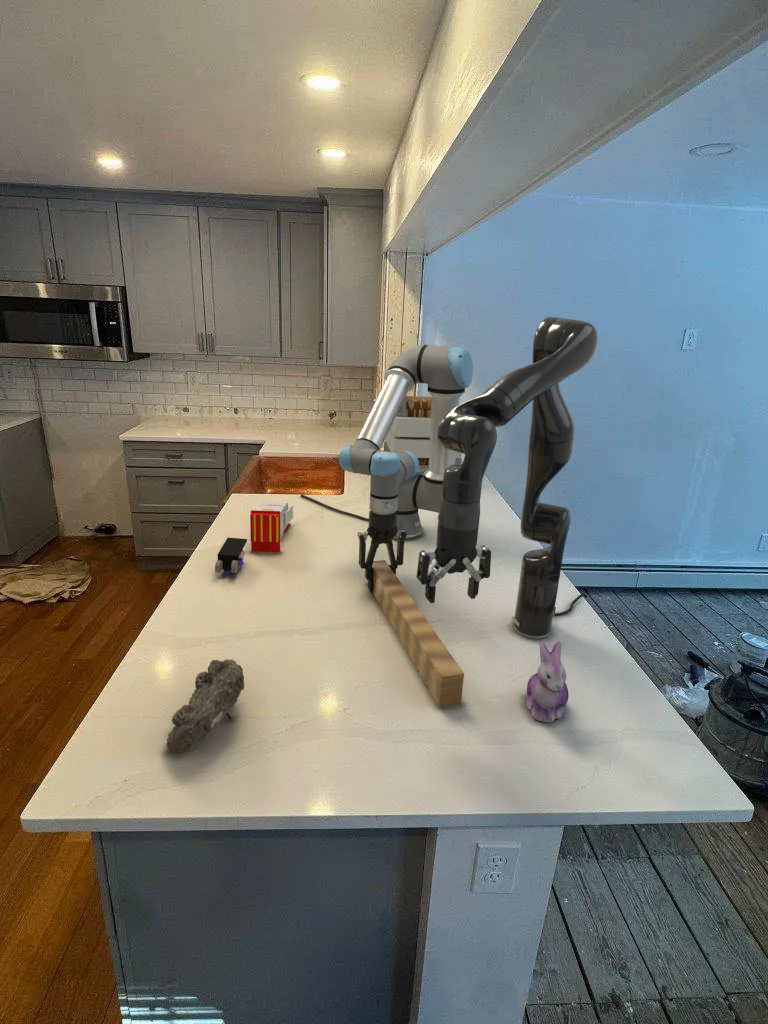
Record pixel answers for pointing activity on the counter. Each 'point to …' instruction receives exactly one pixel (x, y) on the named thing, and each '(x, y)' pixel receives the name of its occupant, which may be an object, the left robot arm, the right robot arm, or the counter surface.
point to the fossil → (206, 705)
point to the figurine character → (230, 556)
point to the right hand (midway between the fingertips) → (451, 599)
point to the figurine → (548, 686)
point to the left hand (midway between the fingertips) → (379, 588)
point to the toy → (269, 525)
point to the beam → (418, 637)
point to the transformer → (413, 430)
